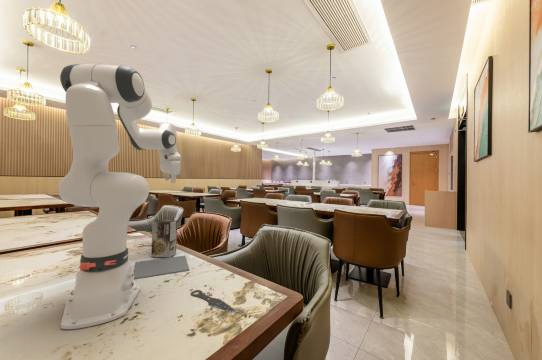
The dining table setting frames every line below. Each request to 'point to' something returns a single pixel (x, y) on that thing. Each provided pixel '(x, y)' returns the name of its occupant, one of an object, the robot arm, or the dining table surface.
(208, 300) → the throwing knife
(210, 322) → the dining table surface
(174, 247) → the coffee box
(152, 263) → the mat
